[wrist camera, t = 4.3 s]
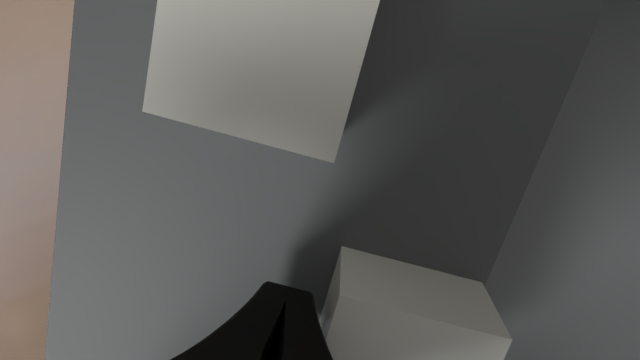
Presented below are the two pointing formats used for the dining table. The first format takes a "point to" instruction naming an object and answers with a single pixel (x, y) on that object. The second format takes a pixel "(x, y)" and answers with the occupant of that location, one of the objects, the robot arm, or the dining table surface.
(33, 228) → the dining table surface
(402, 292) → the tile
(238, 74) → the tile
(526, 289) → the tray
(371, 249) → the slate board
